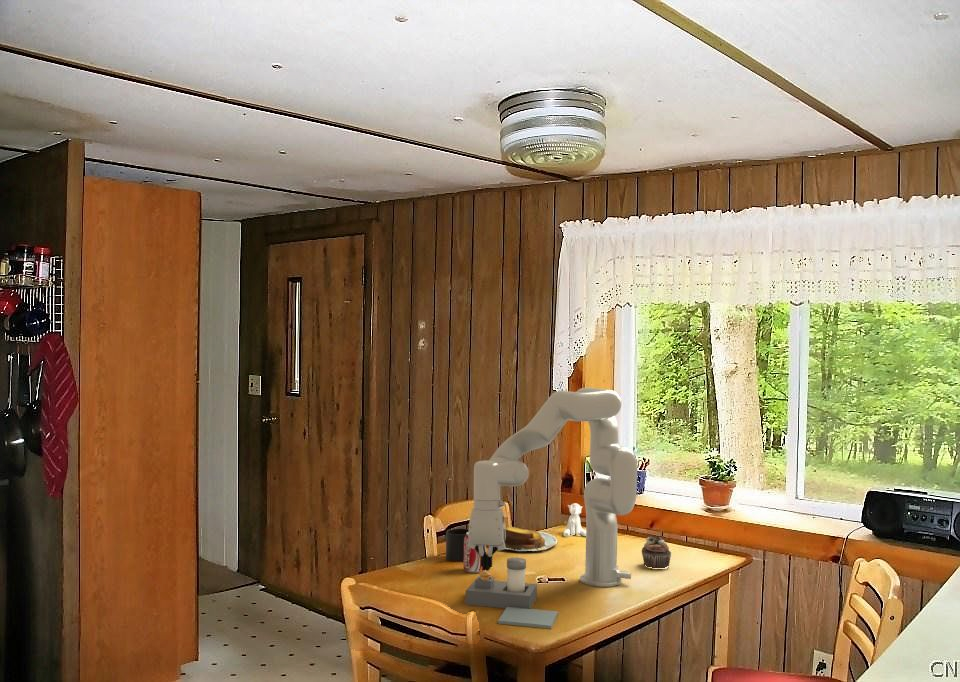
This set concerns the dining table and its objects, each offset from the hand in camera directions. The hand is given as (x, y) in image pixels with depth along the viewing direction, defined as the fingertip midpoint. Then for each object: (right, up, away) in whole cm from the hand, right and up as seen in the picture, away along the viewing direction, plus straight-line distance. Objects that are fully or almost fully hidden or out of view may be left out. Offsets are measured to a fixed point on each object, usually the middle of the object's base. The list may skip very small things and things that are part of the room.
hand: (486, 569), depth 246 cm
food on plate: (+13, -9, +67) cm, 69 cm away
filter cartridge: (+8, -9, -2) cm, 12 cm away
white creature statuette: (+34, -10, +85) cm, 92 cm away
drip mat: (+11, -9, -16) cm, 22 cm away
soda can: (-4, -9, +30) cm, 32 cm away
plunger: (-1, -4, 0) cm, 4 cm away
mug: (-8, -9, +47) cm, 48 cm away
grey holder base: (+4, -9, -1) cm, 10 cm away
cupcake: (+56, -10, +41) cm, 70 cm away
